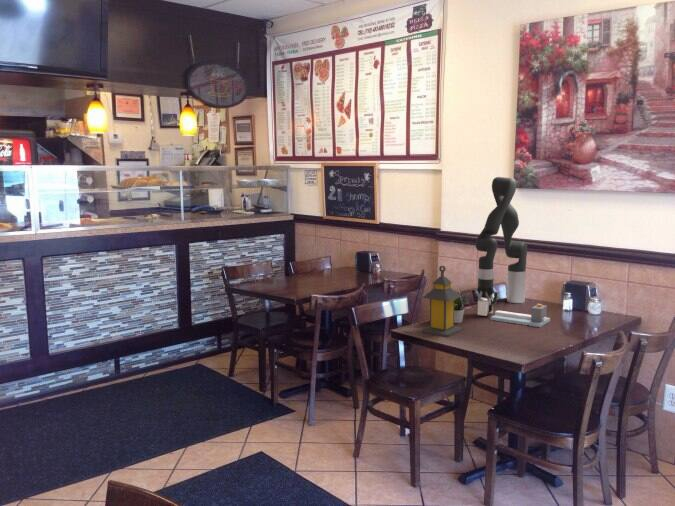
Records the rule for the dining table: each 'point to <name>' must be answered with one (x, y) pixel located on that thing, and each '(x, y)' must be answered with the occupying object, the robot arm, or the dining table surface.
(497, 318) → the rail board
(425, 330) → the lantern
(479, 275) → the robot arm
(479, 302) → the din module
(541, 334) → the dining table surface
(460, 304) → the house plant
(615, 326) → the dining table surface
